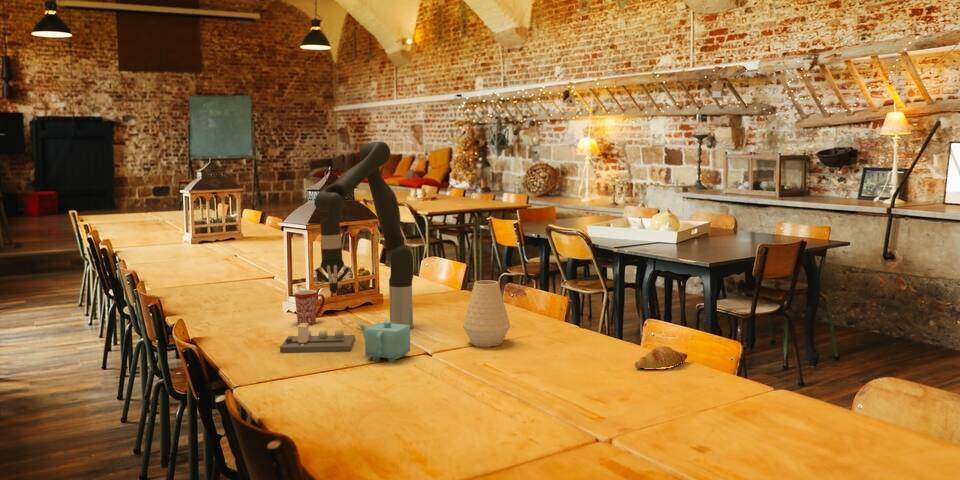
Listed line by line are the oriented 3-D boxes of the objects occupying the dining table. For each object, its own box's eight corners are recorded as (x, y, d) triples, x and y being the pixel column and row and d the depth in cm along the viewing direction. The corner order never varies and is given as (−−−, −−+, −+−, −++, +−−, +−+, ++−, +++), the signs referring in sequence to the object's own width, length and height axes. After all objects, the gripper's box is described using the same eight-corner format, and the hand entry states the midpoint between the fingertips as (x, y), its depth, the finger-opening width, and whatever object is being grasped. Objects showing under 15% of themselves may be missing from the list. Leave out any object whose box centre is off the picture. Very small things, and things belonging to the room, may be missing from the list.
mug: (299, 327, 325) (298, 294, 323) (292, 322, 333) (291, 291, 331) (329, 323, 331) (328, 291, 329) (321, 319, 339) (320, 288, 337)
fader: (309, 339, 296) (308, 322, 295) (306, 342, 291) (306, 326, 290) (300, 339, 295) (300, 323, 295) (298, 342, 290) (297, 326, 290)
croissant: (640, 383, 260) (647, 364, 256) (623, 362, 268) (630, 344, 263) (691, 372, 270) (699, 355, 265) (673, 352, 277) (681, 335, 273)
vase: (517, 340, 302) (517, 280, 299) (498, 351, 286) (498, 288, 283) (475, 335, 309) (475, 277, 306) (455, 346, 293) (454, 284, 290)
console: (355, 340, 304) (354, 328, 303) (350, 351, 288) (350, 339, 287) (288, 341, 302) (288, 330, 302) (280, 352, 287) (279, 340, 286)
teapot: (413, 353, 284) (412, 318, 283) (394, 365, 270) (393, 328, 268) (367, 349, 290) (366, 314, 288) (346, 361, 275) (345, 324, 274)
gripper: (350, 244, 299) (352, 290, 301) (314, 245, 298) (317, 291, 300) (348, 247, 291) (351, 294, 293) (311, 248, 290) (314, 295, 293)
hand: (334, 292), depth 297 cm, fingers closed
